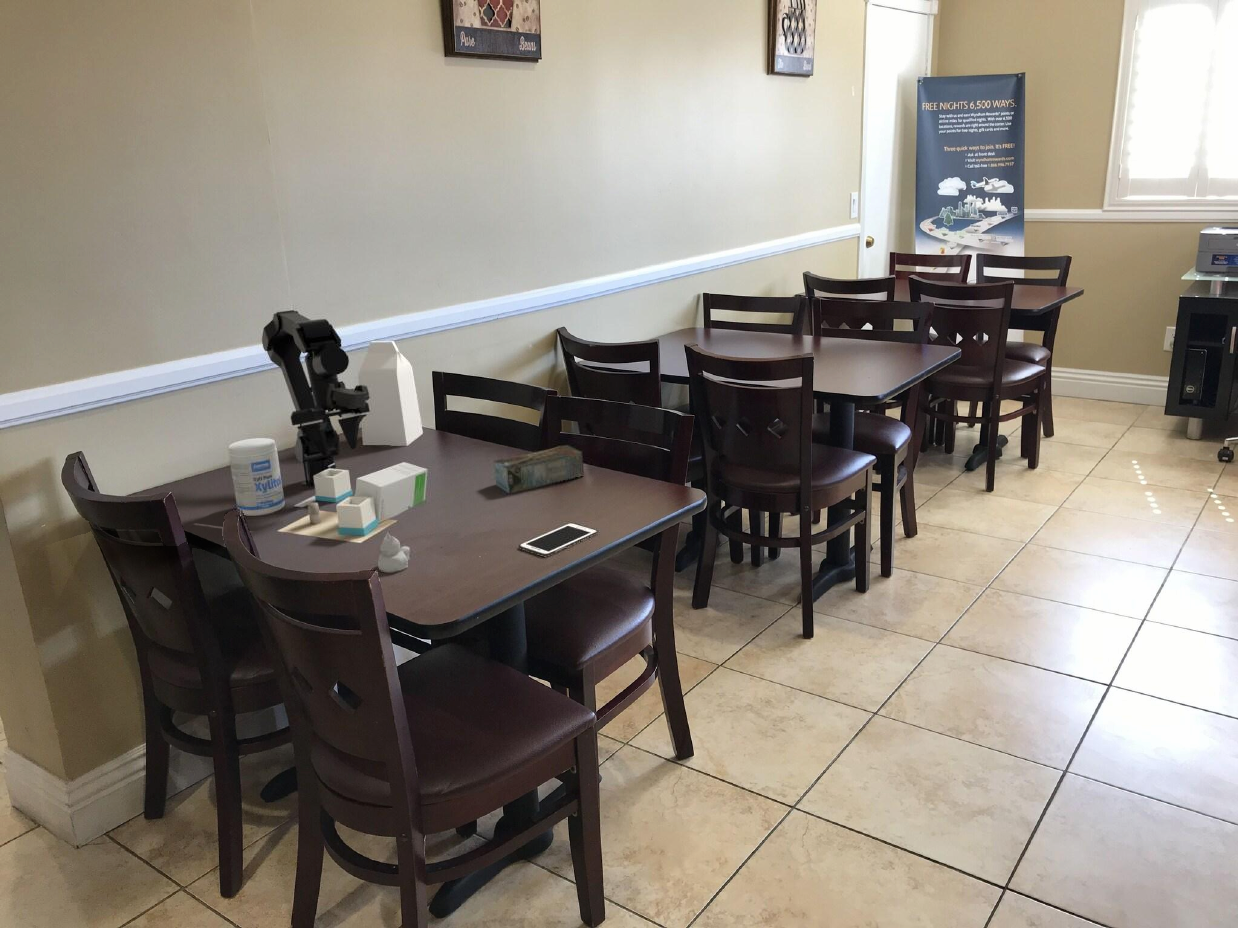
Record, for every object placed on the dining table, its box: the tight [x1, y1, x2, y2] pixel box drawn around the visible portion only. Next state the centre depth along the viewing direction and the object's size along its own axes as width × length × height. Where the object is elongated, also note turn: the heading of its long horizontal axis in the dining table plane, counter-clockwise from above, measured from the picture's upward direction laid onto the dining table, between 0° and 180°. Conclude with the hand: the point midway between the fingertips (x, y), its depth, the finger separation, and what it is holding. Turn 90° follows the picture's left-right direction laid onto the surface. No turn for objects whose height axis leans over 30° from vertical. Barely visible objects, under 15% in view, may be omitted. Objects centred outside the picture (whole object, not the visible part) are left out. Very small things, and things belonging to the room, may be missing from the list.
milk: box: [357, 340, 424, 447], centre depth 247 cm, size 12×12×26 cm
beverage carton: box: [493, 444, 585, 494], centre depth 213 cm, size 8×19×7 cm, turn 120°
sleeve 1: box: [313, 468, 354, 503], centre depth 206 cm, size 6×6×6 cm
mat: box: [294, 495, 317, 508], centre depth 207 cm, size 12×12×1 cm
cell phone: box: [518, 522, 599, 556], centre depth 180 cm, size 8×15×1 cm, turn 139°
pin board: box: [277, 501, 398, 544], centre depth 189 cm, size 20×12×5 cm, turn 67°
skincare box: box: [353, 461, 428, 523], centre depth 196 cm, size 8×7×16 cm
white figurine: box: [377, 531, 411, 574], centre depth 169 cm, size 5×7×8 cm
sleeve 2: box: [335, 495, 378, 536], centre depth 186 cm, size 6×6×6 cm
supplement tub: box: [227, 437, 285, 517], centre depth 201 cm, size 10×10×15 cm
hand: (339, 452), depth 202 cm, fingers open, 9 cm apart
